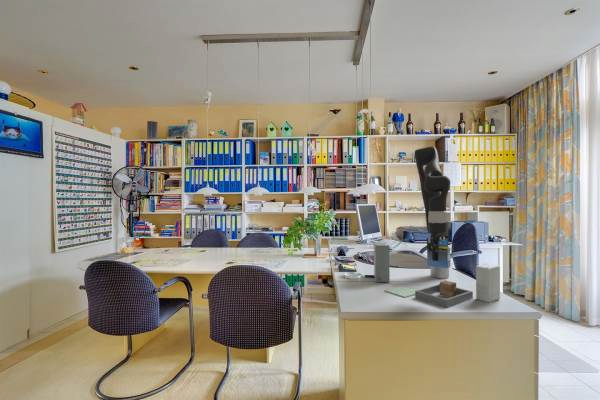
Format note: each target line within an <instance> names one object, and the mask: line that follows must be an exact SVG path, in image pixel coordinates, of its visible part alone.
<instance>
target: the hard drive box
mask: <svg viewBox="0 0 600 400" xmlns="http://www.w3.org/2000/svg"><path fill="white" fill-rule="evenodd" d="M373 271H374V272H373V273H374V275H373V277H374V282H375V283H390V245H389V243H388V242H387V241H374V242H373Z"/></svg>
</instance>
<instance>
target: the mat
mask: <svg viewBox="0 0 600 400" xmlns="http://www.w3.org/2000/svg"><path fill="white" fill-rule="evenodd" d="M383 291H384V292H386V293H389V294H392V295H395V296H398V297H401V298H408V297H409V298H410V297H413V296H415V291H417V290H416V289H413V288H409V287H406V286H401V285H398V286H395V287H390V288H387V289H384V290H383Z"/></svg>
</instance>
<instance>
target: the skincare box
mask: <svg viewBox="0 0 600 400" xmlns="http://www.w3.org/2000/svg"><path fill="white" fill-rule="evenodd" d="M500 268H501V267H500V266H499V265H495V264H490V263H484V264H480V265H479V264H478V265H475V290H476V291H475V297H476V299H477V300H481V301H483V302H486V303H492V302H495V301H497V300H500V299H501V276H500V275H501V274H500V272H501V269H500Z"/></svg>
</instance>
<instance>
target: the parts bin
mask: <svg viewBox="0 0 600 400" xmlns="http://www.w3.org/2000/svg"><path fill="white" fill-rule="evenodd" d="M435 293H440V283H439V284H434V285H432V286H429V287H424V288H421V289H417V290H416V291H415V295H414V296H415V299H419V300H422V301H426V302H429V303H432V304H434V305H438V306H441V307H444V308H450V307H453V306H456V305H458V304H461V303H464V302H466V301H469V300H471V299H473V298H474V296H473V294H474V292H473V290H469V289H464V288H460V287H457V286H456V296H454V297H451V298H449V297H447V298H443V297H440V296H437V295H434V294H435Z"/></svg>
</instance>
